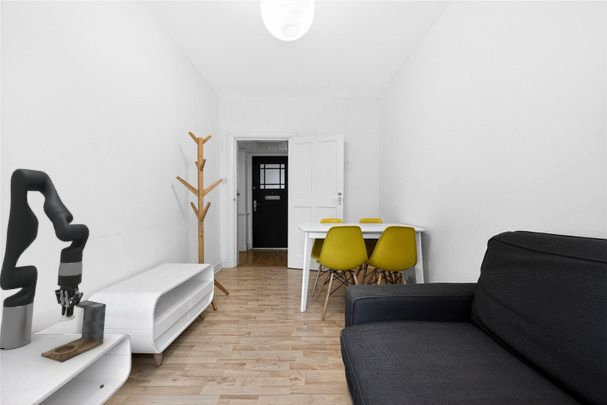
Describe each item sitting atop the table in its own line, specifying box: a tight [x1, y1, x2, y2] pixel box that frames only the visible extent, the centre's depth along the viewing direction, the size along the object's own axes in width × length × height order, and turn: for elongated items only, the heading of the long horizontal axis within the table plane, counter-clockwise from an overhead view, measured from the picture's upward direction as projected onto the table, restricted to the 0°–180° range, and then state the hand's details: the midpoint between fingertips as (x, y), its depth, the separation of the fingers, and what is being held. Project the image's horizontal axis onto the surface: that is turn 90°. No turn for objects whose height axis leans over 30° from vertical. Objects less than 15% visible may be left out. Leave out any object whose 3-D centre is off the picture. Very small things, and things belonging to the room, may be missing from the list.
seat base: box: [40, 300, 107, 363], centre depth 115 cm, size 12×16×18 cm
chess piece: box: [58, 298, 76, 323], centre depth 111 cm, size 5×5×10 cm
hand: (67, 315), depth 111 cm, fingers closed on chess piece
